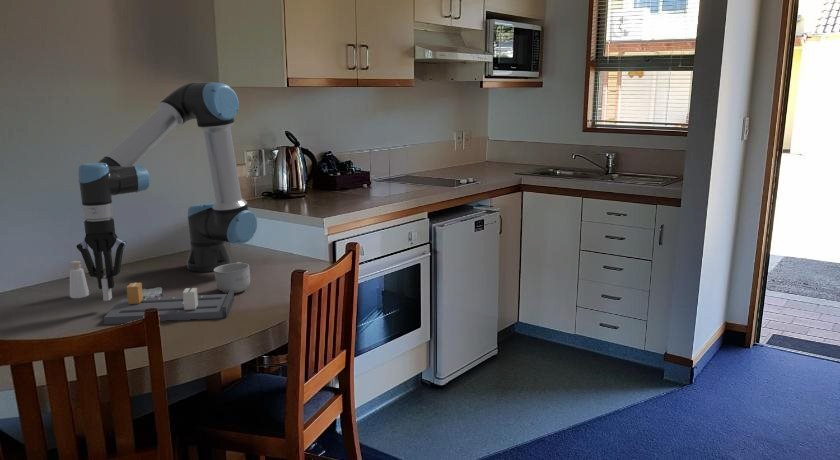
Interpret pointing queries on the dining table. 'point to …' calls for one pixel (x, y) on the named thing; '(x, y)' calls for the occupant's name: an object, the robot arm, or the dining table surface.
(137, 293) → the fader orange
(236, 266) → the teacup
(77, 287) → the salt shaker
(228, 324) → the dining table surface
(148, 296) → the smartphone
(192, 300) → the fader ivory
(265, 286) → the dining table surface
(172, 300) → the console
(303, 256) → the dining table surface
